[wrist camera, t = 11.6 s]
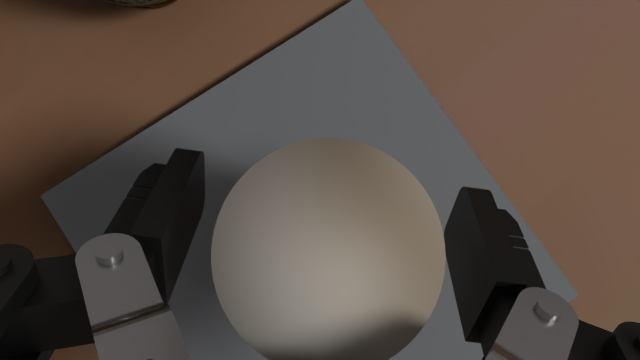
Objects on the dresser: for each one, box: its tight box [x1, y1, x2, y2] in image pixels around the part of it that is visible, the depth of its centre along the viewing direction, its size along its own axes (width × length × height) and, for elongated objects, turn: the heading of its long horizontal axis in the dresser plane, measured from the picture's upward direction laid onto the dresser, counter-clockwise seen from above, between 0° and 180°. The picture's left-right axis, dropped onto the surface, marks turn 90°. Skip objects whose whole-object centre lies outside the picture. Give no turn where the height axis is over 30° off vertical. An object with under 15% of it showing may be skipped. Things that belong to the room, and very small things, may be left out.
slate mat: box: [40, 0, 579, 360], centre depth 20 cm, size 16×16×1 cm
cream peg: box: [211, 138, 446, 360], centre depth 15 cm, size 5×5×10 cm
